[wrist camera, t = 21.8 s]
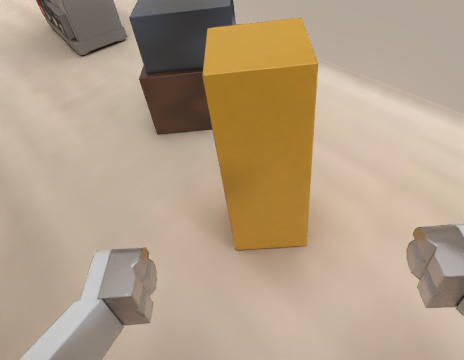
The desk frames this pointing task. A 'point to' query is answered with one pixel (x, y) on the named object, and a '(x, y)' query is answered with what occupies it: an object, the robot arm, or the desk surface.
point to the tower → (177, 58)
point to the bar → (263, 127)
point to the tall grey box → (84, 22)
